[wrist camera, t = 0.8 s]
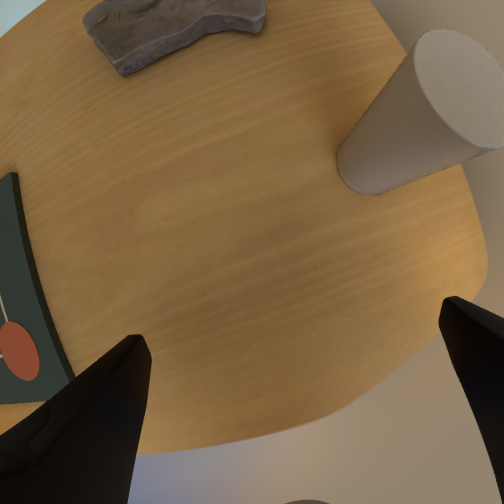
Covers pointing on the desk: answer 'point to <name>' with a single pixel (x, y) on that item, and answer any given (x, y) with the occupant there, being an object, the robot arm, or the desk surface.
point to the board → (24, 313)
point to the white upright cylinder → (427, 115)
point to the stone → (164, 26)
